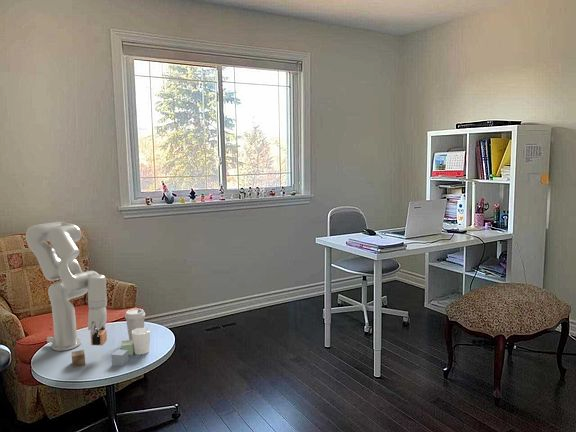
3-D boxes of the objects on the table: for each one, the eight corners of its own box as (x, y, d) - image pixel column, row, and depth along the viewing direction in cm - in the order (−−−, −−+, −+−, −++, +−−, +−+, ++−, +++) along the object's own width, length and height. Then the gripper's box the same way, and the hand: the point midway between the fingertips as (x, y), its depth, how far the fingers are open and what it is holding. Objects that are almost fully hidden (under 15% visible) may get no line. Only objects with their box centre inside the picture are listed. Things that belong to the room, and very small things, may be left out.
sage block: (121, 356, 204) (120, 345, 203) (122, 351, 209) (122, 341, 208) (133, 354, 205) (132, 344, 204) (134, 350, 210) (133, 339, 209)
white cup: (135, 348, 212) (133, 328, 210) (152, 347, 212) (151, 327, 211) (130, 355, 204) (129, 334, 202) (148, 355, 205) (147, 334, 203)
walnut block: (72, 367, 193) (71, 356, 193) (72, 362, 198) (71, 351, 197) (85, 365, 196) (84, 354, 195) (84, 360, 200) (84, 349, 199)
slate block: (112, 365, 195) (111, 354, 194) (118, 360, 200) (117, 349, 199) (122, 366, 194) (122, 355, 194) (128, 360, 199) (128, 350, 198)
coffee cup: (140, 345, 214) (138, 315, 212) (122, 344, 216) (120, 314, 214) (150, 337, 223) (148, 308, 221) (132, 336, 225) (131, 307, 223)
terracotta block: (91, 345, 199) (90, 334, 198) (95, 340, 204) (95, 329, 203) (102, 345, 199) (102, 334, 198) (106, 340, 204) (106, 330, 203)
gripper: (96, 295, 206) (97, 333, 210) (80, 309, 190) (82, 350, 193) (113, 296, 207) (114, 333, 210) (98, 310, 190) (100, 350, 193)
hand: (98, 341), depth 201 cm, fingers closed on terracotta block, 4 cm apart
